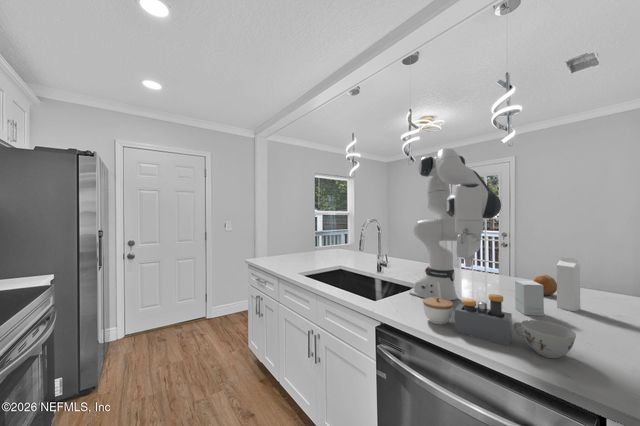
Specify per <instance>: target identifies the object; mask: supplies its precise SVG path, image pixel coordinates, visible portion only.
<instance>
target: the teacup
mask: <svg viewBox="0 0 640 426" xmlns="http://www.w3.org/2000/svg"><path fill="white" fill-rule="evenodd" d="M517 327H520V328H521V331H522V333H520V332H519V330H518V329H517ZM513 328H514V329H513V330H514V332H515V333H516V334H517V336H519V337H521V338H523V339H525V340H526V342H527V344H528V345H529V346H530V347H531V348H532V349H533V350H534V351H535V353H537V354H538V355H540V356H543V357H545V358H549V359H559V358H561V357H562V356H564V355H567V353H569V352H570V351H571V350H572V349H573V347H574V343H575V340H576V337H577V334H576V332H574V331H573V330H572V329H570V328H569V327H566V326H564V325H562V324H558V323H555V322H550V321H546V320H540V319H539V320H538V319H530V320H522V321H521V322H518V321H516V322H514V324H513Z"/></svg>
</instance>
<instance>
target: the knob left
mask: <svg viewBox="0 0 640 426" xmlns="http://www.w3.org/2000/svg"><path fill="white" fill-rule="evenodd" d="M462 304H464V308H465V310H466V311H471V312H475V307H477V301H476V300H474V299H470V298H469V299H468V298H464V299H462Z"/></svg>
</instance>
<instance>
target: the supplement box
mask: <svg viewBox="0 0 640 426" xmlns="http://www.w3.org/2000/svg"><path fill="white" fill-rule="evenodd" d="M514 290H515V292H514V295H515V296H514V300H515V301H514V303H515V304H514V305H515V310H517V311H518V312H520V313H521V314H523V315H524V316H539V317H540V316H541V317H543V316H545V311H544V309H545V308H544V307H545V306H544V300H545V299H544V297H545V295H543V285H541V284H539V283H537V282H534V281H533V280H514Z"/></svg>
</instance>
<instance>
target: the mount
mask: <svg viewBox="0 0 640 426" xmlns="http://www.w3.org/2000/svg"><path fill="white" fill-rule="evenodd" d="M512 315H513V313H510V312H505V311H502V318H500V317H496V316H491V315H490V309H489V308H487V313H481V312H478V306H475V312H471V311H466V310H465V308H464V304H463V303H459V304H458V305H457V306H456V308H454V333H457V334H462V335H465V336H469V337H472V338H477V339H481V340H485V341H488V342H493V343H496V344H499V345H503V346H508V347H510V344H511V341H512V339H513V333H512V332H513V331H512V330H513V329H512V327H513V326H512V325H513V323H512V322H513V320H512V318H513V316H512Z"/></svg>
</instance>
